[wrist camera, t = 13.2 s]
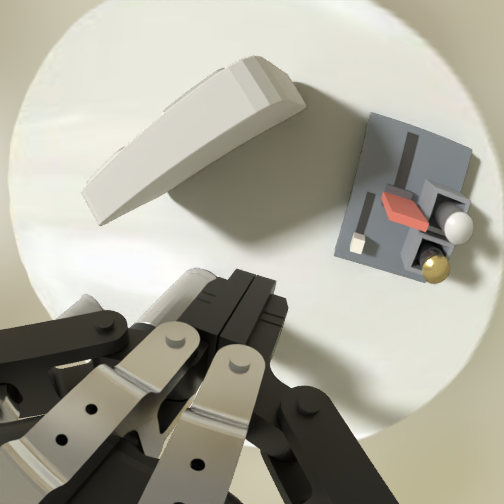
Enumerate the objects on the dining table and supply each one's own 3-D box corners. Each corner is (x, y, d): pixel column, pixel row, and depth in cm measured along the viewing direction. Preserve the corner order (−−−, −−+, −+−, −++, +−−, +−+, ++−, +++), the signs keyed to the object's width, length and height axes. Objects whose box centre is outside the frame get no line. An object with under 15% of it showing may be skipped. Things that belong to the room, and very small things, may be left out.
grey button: (453, 232, 32) (466, 248, 27) (430, 223, 32) (440, 239, 28) (463, 205, 30) (478, 219, 26) (439, 196, 31) (451, 208, 26)
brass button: (434, 267, 36) (442, 286, 31) (411, 260, 37) (418, 279, 32) (444, 244, 34) (454, 261, 30) (421, 236, 35) (429, 252, 31)
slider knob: (360, 247, 41) (360, 254, 40) (350, 244, 42) (349, 251, 40) (364, 235, 41) (365, 241, 39) (354, 232, 41) (354, 237, 39)
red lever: (407, 212, 37) (422, 240, 29) (378, 203, 38) (386, 228, 30) (414, 192, 36) (432, 214, 27) (384, 182, 37) (394, 202, 28)
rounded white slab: (282, 63, 37) (239, 31, 21) (309, 107, 39) (283, 98, 23) (143, 158, 50) (66, 183, 34) (163, 194, 52) (92, 231, 36)
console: (421, 273, 43) (431, 301, 36) (335, 247, 46) (331, 272, 39) (465, 147, 33) (486, 154, 26) (369, 112, 36) (374, 111, 29)
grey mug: (100, 299, 70) (61, 332, 57) (111, 340, 76) (78, 374, 63) (77, 290, 72) (40, 320, 59) (89, 330, 78) (57, 361, 65)
